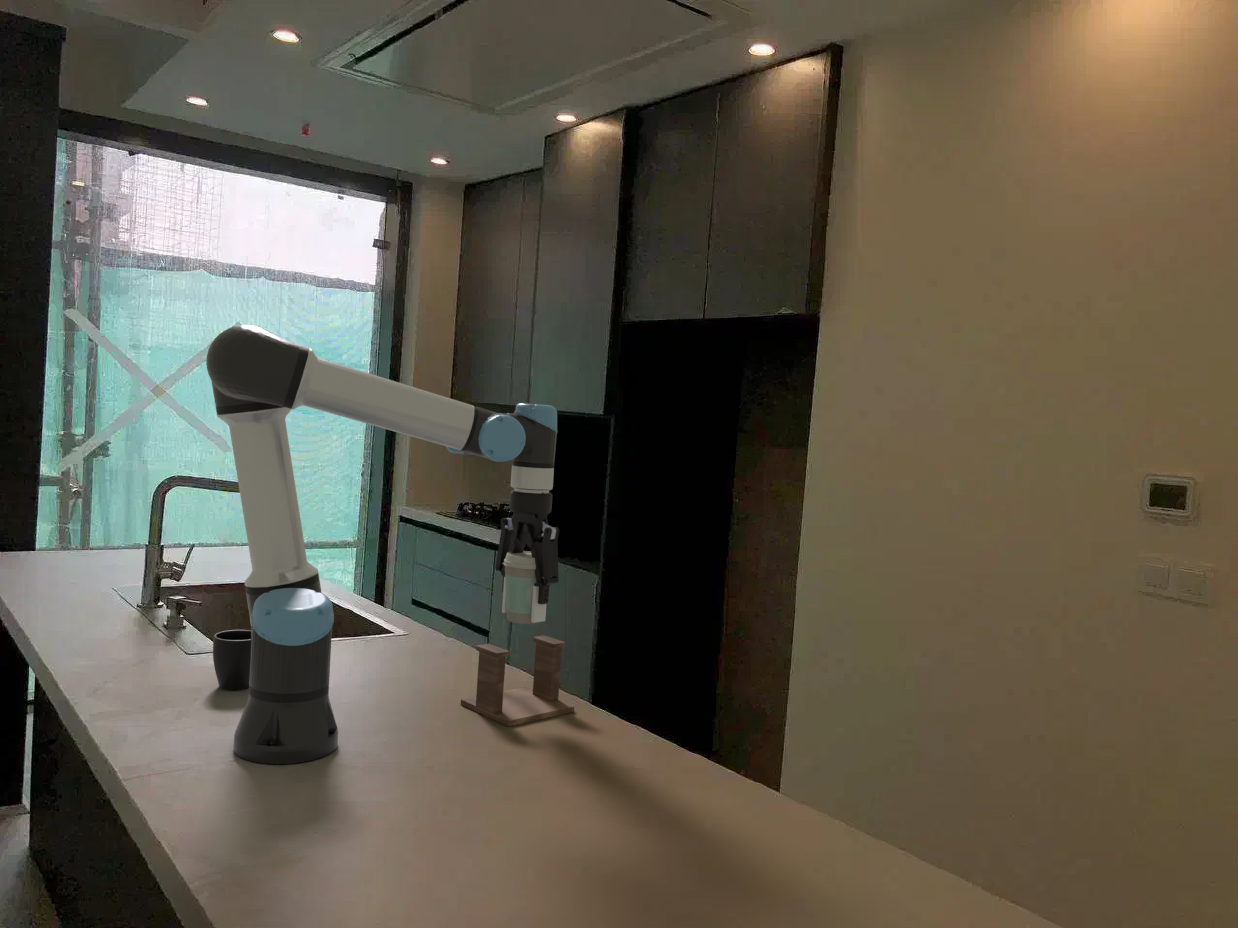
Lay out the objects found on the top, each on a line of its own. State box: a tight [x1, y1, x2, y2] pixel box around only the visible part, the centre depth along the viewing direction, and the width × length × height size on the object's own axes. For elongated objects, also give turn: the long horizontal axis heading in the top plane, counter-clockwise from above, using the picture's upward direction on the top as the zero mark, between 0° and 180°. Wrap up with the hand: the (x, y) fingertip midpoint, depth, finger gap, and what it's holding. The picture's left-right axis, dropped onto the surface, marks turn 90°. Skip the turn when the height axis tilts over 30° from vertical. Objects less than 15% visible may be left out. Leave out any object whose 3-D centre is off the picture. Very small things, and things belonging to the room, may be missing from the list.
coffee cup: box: [502, 550, 544, 625], centre depth 175 cm, size 8×9×12 cm
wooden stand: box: [460, 634, 575, 727], centre depth 176 cm, size 16×14×12 cm
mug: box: [212, 629, 251, 692], centre depth 179 cm, size 8×12×10 cm
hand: (523, 616), depth 176 cm, fingers closed on coffee cup, 8 cm apart
